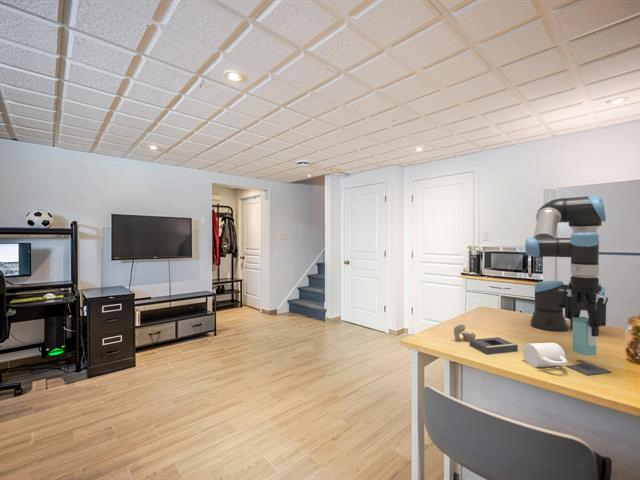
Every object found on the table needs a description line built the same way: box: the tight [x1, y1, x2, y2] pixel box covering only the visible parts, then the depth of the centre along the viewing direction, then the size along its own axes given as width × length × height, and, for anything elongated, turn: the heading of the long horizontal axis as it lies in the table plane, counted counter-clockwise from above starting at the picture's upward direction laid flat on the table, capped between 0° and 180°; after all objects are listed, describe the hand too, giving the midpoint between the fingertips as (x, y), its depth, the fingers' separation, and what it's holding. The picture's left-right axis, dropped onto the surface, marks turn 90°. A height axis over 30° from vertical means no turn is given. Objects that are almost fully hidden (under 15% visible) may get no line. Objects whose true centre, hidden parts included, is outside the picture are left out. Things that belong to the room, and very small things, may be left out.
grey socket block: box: [469, 336, 519, 355], centre depth 126 cm, size 14×10×3 cm
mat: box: [565, 359, 612, 377], centre depth 108 cm, size 10×10×1 cm
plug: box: [572, 316, 597, 357], centre depth 108 cm, size 5×5×12 cm
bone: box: [453, 323, 476, 343], centre depth 135 cm, size 9×6×10 cm
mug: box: [522, 342, 568, 368], centre depth 109 cm, size 12×10×8 cm
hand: (584, 342), depth 108 cm, fingers closed on plug, 4 cm apart
